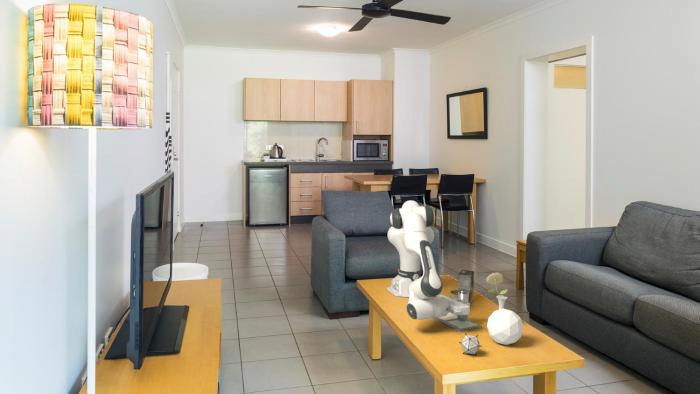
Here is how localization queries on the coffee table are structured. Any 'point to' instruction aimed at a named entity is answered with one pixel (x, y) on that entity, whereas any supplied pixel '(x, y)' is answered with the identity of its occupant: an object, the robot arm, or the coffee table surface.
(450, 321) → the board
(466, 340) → the game die
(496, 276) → the flower in vase
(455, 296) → the flower pot
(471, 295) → the coffee box
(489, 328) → the geometric sphere
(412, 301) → the robot arm
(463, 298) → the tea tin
